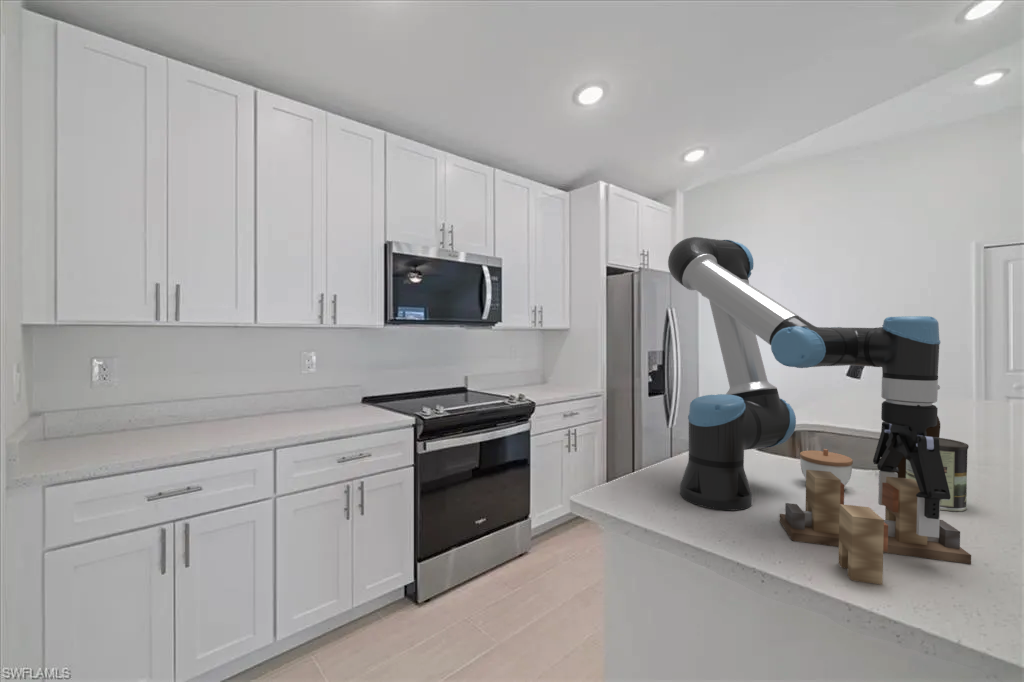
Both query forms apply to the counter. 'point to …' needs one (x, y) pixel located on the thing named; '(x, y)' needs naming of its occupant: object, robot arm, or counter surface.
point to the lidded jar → (827, 463)
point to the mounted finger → (824, 500)
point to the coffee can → (951, 473)
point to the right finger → (902, 508)
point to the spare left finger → (862, 543)
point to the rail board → (936, 548)
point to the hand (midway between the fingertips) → (905, 519)
